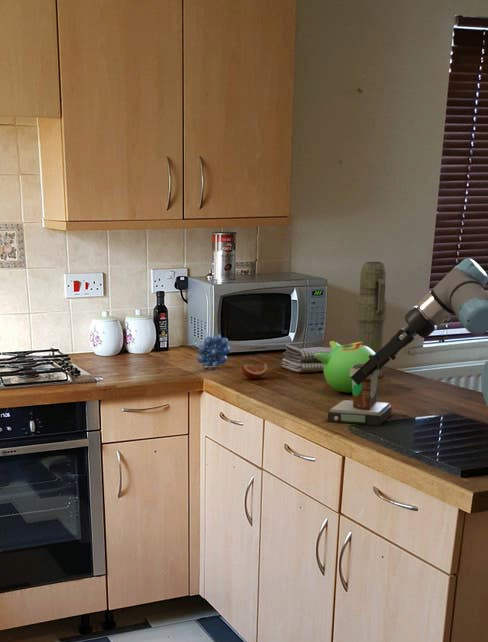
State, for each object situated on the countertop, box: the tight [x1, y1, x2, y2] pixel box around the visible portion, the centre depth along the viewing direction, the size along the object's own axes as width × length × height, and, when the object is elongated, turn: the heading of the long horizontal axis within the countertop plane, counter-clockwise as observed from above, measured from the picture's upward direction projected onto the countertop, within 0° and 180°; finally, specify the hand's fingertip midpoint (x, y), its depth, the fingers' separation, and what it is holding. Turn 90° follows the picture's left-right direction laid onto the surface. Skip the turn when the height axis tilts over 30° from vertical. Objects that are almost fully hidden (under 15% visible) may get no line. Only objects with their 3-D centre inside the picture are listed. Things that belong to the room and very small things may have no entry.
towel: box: [280, 343, 332, 374], centre depth 295 cm, size 15×18×8 cm
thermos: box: [356, 261, 387, 379], centre depth 274 cm, size 9×12×35 cm
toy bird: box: [314, 340, 380, 394], centre depth 253 cm, size 18×17×15 cm
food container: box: [349, 363, 379, 410], centre depth 219 cm, size 12×6×10 cm, turn 158°
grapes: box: [196, 333, 231, 370], centre depth 301 cm, size 12×7×12 cm, turn 101°
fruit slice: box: [241, 362, 269, 380], centre depth 280 cm, size 8×7×5 cm
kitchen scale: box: [327, 399, 393, 426], centre depth 221 cm, size 14×13×3 cm
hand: (361, 377), depth 218 cm, fingers open, 13 cm apart
